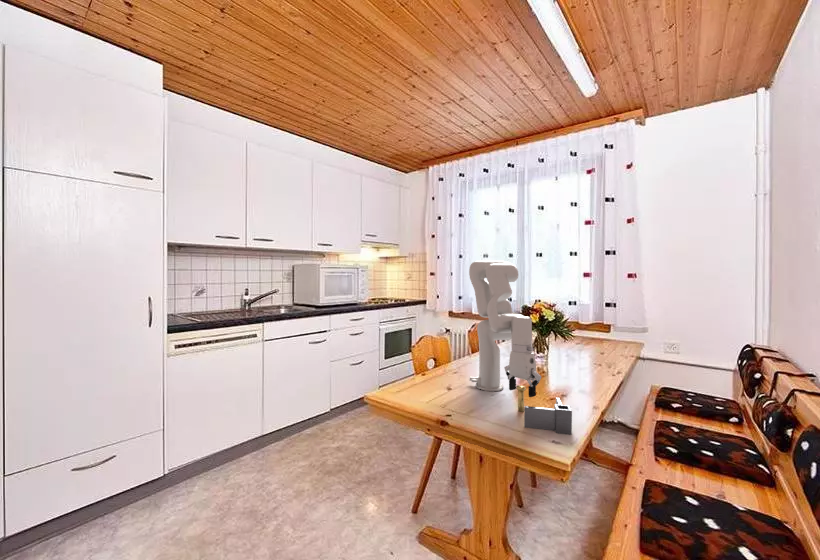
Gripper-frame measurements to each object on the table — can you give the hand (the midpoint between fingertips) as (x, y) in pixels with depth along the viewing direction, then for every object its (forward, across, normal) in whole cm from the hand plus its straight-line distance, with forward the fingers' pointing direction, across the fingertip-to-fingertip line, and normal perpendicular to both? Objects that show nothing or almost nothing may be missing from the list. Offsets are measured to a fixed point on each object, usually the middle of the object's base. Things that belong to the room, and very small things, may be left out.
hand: (522, 393), depth 136 cm
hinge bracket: (+8, -11, 0) cm, 13 cm away
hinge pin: (+7, +1, 0) cm, 7 cm away
